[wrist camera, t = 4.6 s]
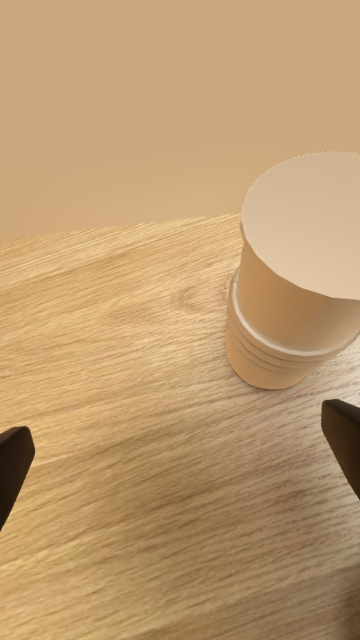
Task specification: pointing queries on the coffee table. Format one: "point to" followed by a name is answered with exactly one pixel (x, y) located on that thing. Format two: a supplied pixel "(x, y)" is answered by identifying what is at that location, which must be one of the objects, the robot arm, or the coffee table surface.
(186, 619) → the coffee table surface
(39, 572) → the coffee table surface
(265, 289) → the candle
